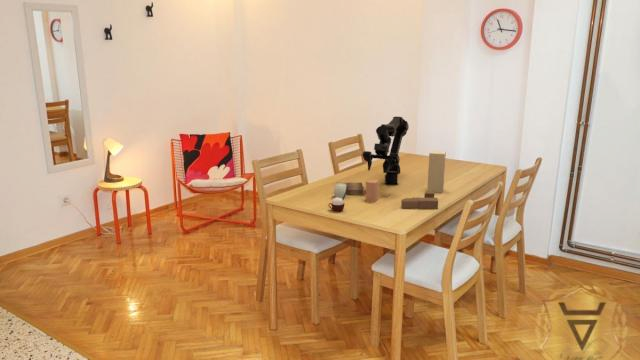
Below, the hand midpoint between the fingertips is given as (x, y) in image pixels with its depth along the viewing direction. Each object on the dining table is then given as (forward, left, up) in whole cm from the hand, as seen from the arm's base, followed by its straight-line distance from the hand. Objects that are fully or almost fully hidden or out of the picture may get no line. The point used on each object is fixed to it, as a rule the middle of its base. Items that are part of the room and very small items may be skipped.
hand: (377, 171), depth 268 cm
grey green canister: (+19, +2, -13) cm, 23 cm away
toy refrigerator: (-32, -10, -14) cm, 36 cm away
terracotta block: (+3, +7, -13) cm, 16 cm away
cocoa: (+20, +23, -14) cm, 34 cm away
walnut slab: (+14, -9, -13) cm, 21 cm away
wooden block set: (-20, +13, -14) cm, 27 cm away
